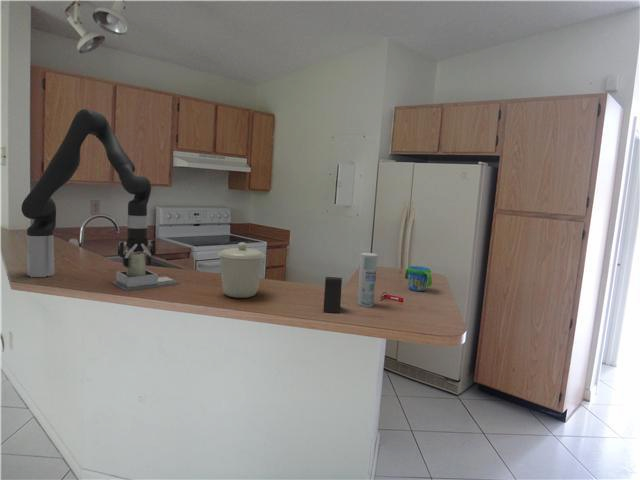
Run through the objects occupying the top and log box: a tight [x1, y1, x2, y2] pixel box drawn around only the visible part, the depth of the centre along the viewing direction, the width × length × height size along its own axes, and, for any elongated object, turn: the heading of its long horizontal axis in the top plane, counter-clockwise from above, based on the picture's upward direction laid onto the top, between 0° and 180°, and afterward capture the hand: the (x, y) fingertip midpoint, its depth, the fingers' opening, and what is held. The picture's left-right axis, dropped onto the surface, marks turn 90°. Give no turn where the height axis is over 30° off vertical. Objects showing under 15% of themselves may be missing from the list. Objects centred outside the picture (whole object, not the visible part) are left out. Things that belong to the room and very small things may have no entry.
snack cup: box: [404, 265, 433, 293], centre depth 195 cm, size 16×10×10 cm
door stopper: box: [323, 276, 343, 314], centre depth 156 cm, size 9×6×12 cm, turn 179°
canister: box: [217, 241, 266, 299], centre depth 168 cm, size 18×18×21 cm
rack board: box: [112, 269, 181, 292], centre depth 176 cm, size 22×14×5 cm, turn 135°
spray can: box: [357, 252, 379, 308], centre depth 165 cm, size 6×6×20 cm
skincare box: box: [125, 252, 147, 277], centre depth 172 cm, size 6×4×12 cm
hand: (137, 266), depth 173 cm, fingers open, 8 cm apart
